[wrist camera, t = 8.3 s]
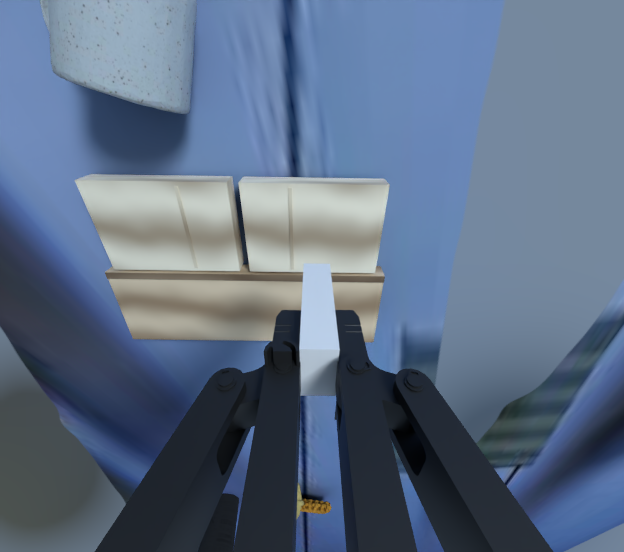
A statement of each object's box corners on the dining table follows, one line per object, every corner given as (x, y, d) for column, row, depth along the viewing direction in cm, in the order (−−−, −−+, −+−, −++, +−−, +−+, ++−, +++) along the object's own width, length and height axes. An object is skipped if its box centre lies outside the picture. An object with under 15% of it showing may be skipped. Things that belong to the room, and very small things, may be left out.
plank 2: (243, 176, 25) (238, 182, 23) (384, 178, 25) (389, 185, 23) (253, 261, 30) (249, 271, 28) (371, 262, 30) (375, 273, 28)
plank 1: (90, 174, 25) (73, 180, 23) (232, 176, 25) (226, 182, 23) (125, 259, 29) (113, 269, 28) (244, 261, 29) (239, 271, 28)
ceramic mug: (215, -18, 19) (159, -90, 12) (204, 116, 23) (157, 117, 16) (47, -82, 18) (-118, -201, 11) (66, 72, 22) (-46, 53, 15)
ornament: (341, 533, 54) (302, 527, 45) (296, 527, 59) (252, 521, 49) (342, 489, 59) (307, 476, 50) (300, 487, 63) (260, 474, 54)
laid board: (117, 262, 30) (104, 272, 28) (380, 266, 30) (384, 276, 28) (142, 327, 34) (132, 339, 32) (370, 330, 34) (373, 342, 33)
